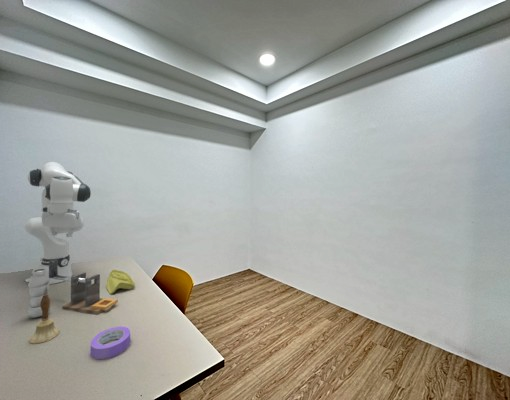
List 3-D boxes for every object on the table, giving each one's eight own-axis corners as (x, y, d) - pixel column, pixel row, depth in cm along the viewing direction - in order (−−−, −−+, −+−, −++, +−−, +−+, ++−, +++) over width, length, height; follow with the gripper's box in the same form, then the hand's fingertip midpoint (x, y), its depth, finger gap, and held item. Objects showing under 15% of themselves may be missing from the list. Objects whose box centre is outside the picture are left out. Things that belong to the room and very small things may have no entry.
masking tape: (85, 363, 68) (85, 352, 68) (96, 340, 79) (96, 330, 79) (127, 354, 73) (127, 343, 73) (132, 333, 84) (132, 323, 84)
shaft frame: (62, 309, 98) (62, 278, 98) (83, 298, 108) (83, 270, 108) (97, 314, 95) (97, 282, 94) (115, 303, 105) (116, 274, 104)
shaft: (46, 279, 104) (47, 261, 103) (54, 277, 107) (54, 259, 107) (85, 284, 100) (86, 265, 99) (92, 281, 103) (92, 263, 102)
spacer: (92, 305, 97) (106, 307, 96) (104, 298, 104) (117, 299, 103) (92, 308, 97) (106, 309, 96) (104, 300, 104) (117, 301, 103)
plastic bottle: (53, 313, 95) (53, 268, 94) (33, 321, 89) (33, 274, 88) (44, 310, 97) (44, 266, 96) (24, 318, 91) (24, 271, 90)
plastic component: (136, 284, 121) (117, 281, 114) (129, 297, 119) (110, 295, 113) (127, 272, 135) (110, 268, 128) (120, 283, 133) (103, 280, 127)
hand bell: (65, 331, 83) (65, 290, 83) (40, 345, 75) (40, 301, 75) (49, 327, 85) (49, 288, 85) (22, 341, 77) (22, 298, 76)
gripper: (85, 209, 108) (84, 236, 109) (53, 207, 112) (52, 233, 113) (72, 210, 102) (71, 239, 102) (38, 208, 106) (38, 235, 106)
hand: (61, 236), depth 108 cm, fingers open, 8 cm apart
